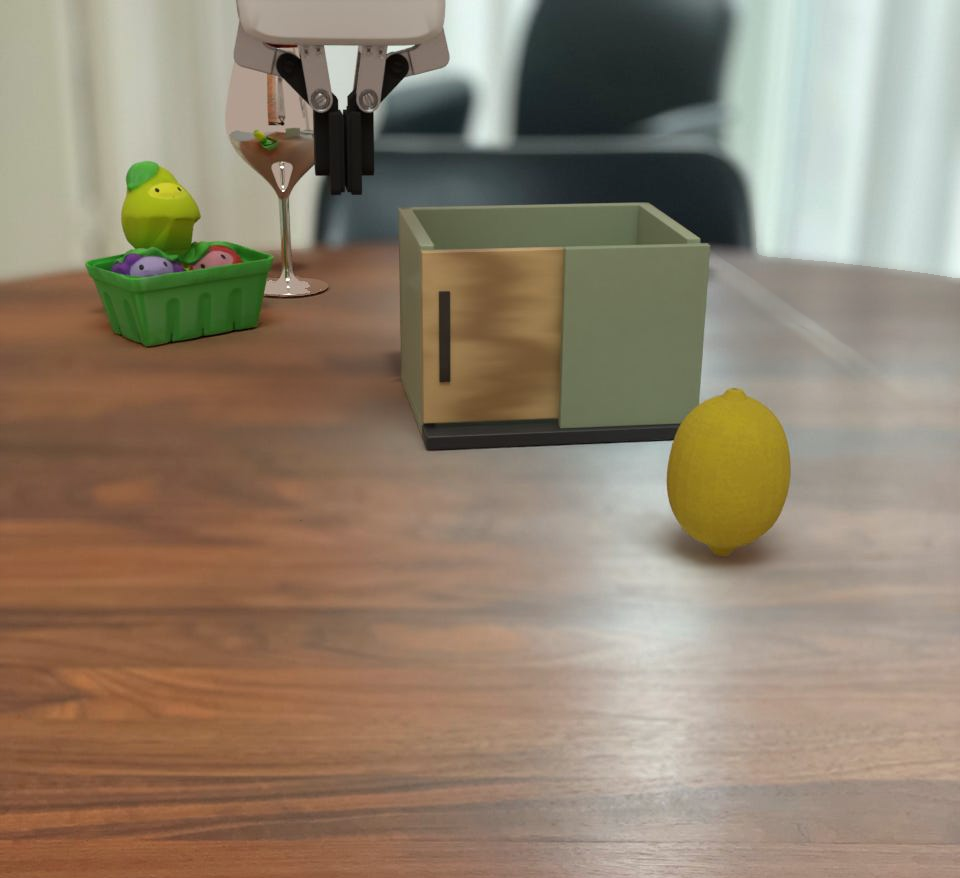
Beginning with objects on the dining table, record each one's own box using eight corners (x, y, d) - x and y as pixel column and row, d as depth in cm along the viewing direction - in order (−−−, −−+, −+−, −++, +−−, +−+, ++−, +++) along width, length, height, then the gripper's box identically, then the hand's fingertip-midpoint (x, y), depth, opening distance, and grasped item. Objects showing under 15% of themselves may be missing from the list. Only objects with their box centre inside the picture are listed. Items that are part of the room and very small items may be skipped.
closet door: (558, 415, 86) (563, 246, 81) (560, 419, 85) (565, 249, 81) (422, 420, 84) (420, 250, 80) (424, 424, 84) (422, 252, 80)
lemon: (805, 556, 70) (823, 389, 66) (733, 589, 66) (747, 415, 63) (710, 525, 73) (723, 364, 70) (637, 555, 70) (646, 387, 66)
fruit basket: (138, 354, 101) (122, 181, 96) (80, 329, 107) (61, 164, 102) (282, 328, 107) (274, 165, 102) (219, 306, 113) (208, 150, 108)
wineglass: (215, 288, 119) (197, 44, 111) (296, 272, 124) (284, 39, 116) (279, 305, 114) (266, 51, 106) (361, 288, 119) (353, 45, 111)
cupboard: (639, 372, 98) (648, 202, 93) (698, 439, 85) (712, 246, 81) (401, 381, 95) (398, 207, 91) (426, 450, 83) (424, 253, 78)
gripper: (483, -206, 74) (476, 179, 82) (175, -216, 72) (199, 180, 80) (508, -218, 67) (498, 202, 75) (169, -229, 65) (196, 204, 73)
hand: (344, 190), depth 77 cm, fingers closed
